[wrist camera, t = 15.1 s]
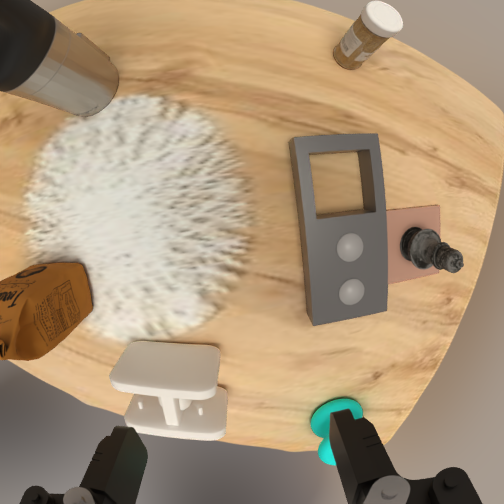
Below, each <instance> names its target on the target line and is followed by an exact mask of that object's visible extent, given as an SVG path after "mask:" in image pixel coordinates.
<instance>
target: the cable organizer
mask: <svg viewBox="0 0 504 504" xmlns="http://www.w3.org/2000/svg"><path fill="white" fill-rule="evenodd" d="M219 367H220V350H219V349H218V348H217V347H214V346H211V345H198V344H179V343H163V342H151V341H136V342H132V343H130V344H129V345H128V346H127V347H126V349H125V351H124V352H123V354H122V355H121V357H120V358H119V360H118V362H117V363H116V365H115V366H114V368H113V369H112V371H111V373H110V375H109V377H110V381H111V384H112V386H113V387H114V388H115V389H116V390H119V391H122V392H128V393H134V395H133V398H132V400H131V402H130V404H129V406H128V409H127V411H126V413H125V415H124V419H125V422H126V424H127V427H133V428H134V429H135V430H136V432H138V433H144V434H150V435H157V436H165V437H173V438H182V439H193V440H208V441H210V440H217V439H220V438H222V437H223V436H224V435H225V434H226V420H227V402H228V397H227V391H226V390H225V389H224V388H222V387H218V386H217V385H218V375H219Z"/></svg>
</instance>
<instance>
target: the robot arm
mask: <svg viewBox="0 0 504 504" xmlns="http://www.w3.org/2000/svg"><path fill="white" fill-rule="evenodd" d="M118 82H119V77H118V72H117V69H116V68H115V66H114V65H113V64H111V63H110V61H109V56H108V55H106V54H105V53H104V52H103V51H102V50H101V49H100V48H98V47H97V46H96V45H95V44H94V43H93V42H91V41H90V40H89V39H88V38H87V37H85V36H84V35H83V34H82V33H77V34H75V33H74V32H73V31H71V30H70V29H69V28H68V27H66V26H65V25H64V24H62V23H61V22H60V21H58V20H57V19H56V18H55V17H53V16H52V15H51V14H49V13H48V12H46V11H45V10H44V9H42V8H41V7H39V6H38V5H36V4H35V3H33V2H32V1H30V0H0V91H2V92H6V93H9V94H13V95H16V96H19V97H23V98H26V99H29V100H33V101H36V102H39V103H42V104H45V105H48V106H51V107H54V108H57V109H60V110H63V111H66V112H69V113H72V114H74V115H78V116H81V117H87V116H91V115H94V114H96V113H98V112H99V111H101V110H102V109H104V108H105V107H106V106H107V105H108V104H109V102H110V101H111V100H112V98H113V96H114V95H115V93H116V90H117V87H118ZM329 440H330V446H331V450H332V453H333V456H334V459H335V462H336V466H337V469H338V472H339V475H340V479H341V482H342V485H343V488H344V492H345V495H346V498H347V502H348V504H482V502H481V500H480V498H479V496H478V494H477V492H476V490H475V489H474V487H473V485H472V483H471V481H470V479H469V477H468V475H467V474H466V472H465V471H464V470H462V469H460V468H457V467H450V468H446V469H444V470H442V471H440V472H439V473H438V474H437V475H436V477H433V478H427V479H420V480H409V479H405V478H403V477H401V476H400V475H399V474H398V473H397V472H396V471H395V469H394V467H393V465H392V462H391V461H390V458H389V456H388V454H387V452H386V450H385V448H384V446H383V444H382V443H381V440H380V438H379V436H378V434H377V431H376V429H375V427H374V425H373V424H372V423H371V422H369V421H368V420H367V419H365V418H364V417H363V418H359V419H354V417H353V415H352V412H351V410H350V409H344V410H340V411H336V412H331V413H330V428H329ZM147 459H148V455H147V450H146V447H145V446H144V444H143V443H142V441H141V439H140V437H139V436H138V434H137V432H136V430H135V429H134V428H133V427H125V426H116V427H114V429H113V432H112V433H111V436H106V437H105V438H104V439H103V440H102V441H101V442H100V443H99V444H98V447H97V449H96V451H95V454H94V456H93V458H92V461H91V462H90V464H89V466H88V469H87V471H86V473H85V475H84V478H83V480H82V482H81V484H80V486H79V487H74V488H71V489H69V490H68V491H67V492H66V493H65V494H49V493H48V492H47V491H46V490H45V489H44V488H42V487H40V486H32V487H30V488H28V489H27V490H26V491H25V493H24V495H23V497H22V499H21V502H20V504H135V503H136V499H137V495H138V492H139V488H140V484H141V481H142V477H143V474H144V470H145V467H146V463H147Z"/></svg>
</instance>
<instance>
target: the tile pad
mask: <svg viewBox="0 0 504 504" xmlns="http://www.w3.org/2000/svg"><path fill="white" fill-rule="evenodd" d="M386 215H387V237H388V284H392V283H397V282H402V281H406V280H411V279H415V278H420V277H424V276H428V275H433V274H437V273H439V269H436V268H435V267H434V266H432V267H430V268H428V269H425V270H423V269H419V268H417V267H415V266H414V265H413V263H412V261H408V260H406V259H405V258H404V257H403V256H402V254H401V251H400V241H401V238H402V235H403V234H404V233H405V231H406V230H408V229H409V228H411V227H419V228H421V229H422V230H423V229H432V230H434V231H436V232H437V234H438V235H439V237H440V205H433V206H423V207H413V208H403V209H394V210H386Z"/></svg>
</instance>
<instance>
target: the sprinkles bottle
mask: <svg viewBox="0 0 504 504" xmlns="http://www.w3.org/2000/svg"><path fill="white" fill-rule="evenodd" d="M402 27H403V20H402V18H401V16H400V14H399V13H398V12H397V10H396V9H394V8H393V7H392V6H390V5H388V4H387V3H384V2H382V1H371V2H369V3H368V4H367V5H366V6H365V7H364V9H363V10H362V12H361V15H360V16H359V18H358V19H357V20H356V21H355V22H354V23H353V25H352V26H351V27H350V29H349V30H348V31H347V33H346V34H345V35H344V37H343V38H342V40H341V42H340V43H339V45H337V46H336V47H335V49H334V58H335V60H336V61H337V63H338V64H340V65H341V66H342V67H344V68H346V69H357V68H359V67H360V66H361V65H362V63H363V62H364V61H365V60H367V59H368V58H369V57H370V56H371V55H372V54H373V53H374V52H375V51H376V50H377V49H378V48H379V47H380V46H381V45H382V44H383V43H384V42H385V41H386V40H387V39H389V38H390V37H393V36H395V35H396V34H397V33H398V32H399V31H400V30H401V29H402Z"/></svg>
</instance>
